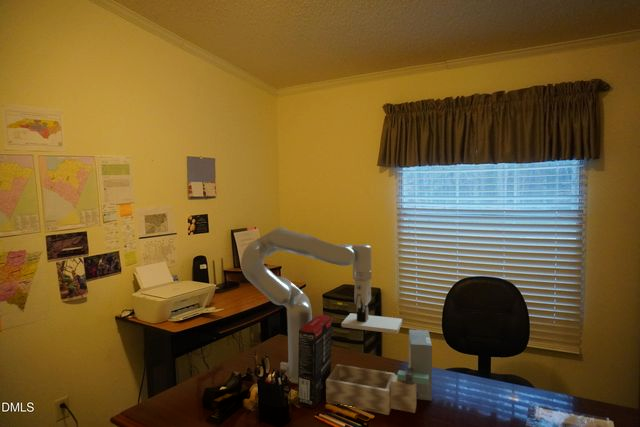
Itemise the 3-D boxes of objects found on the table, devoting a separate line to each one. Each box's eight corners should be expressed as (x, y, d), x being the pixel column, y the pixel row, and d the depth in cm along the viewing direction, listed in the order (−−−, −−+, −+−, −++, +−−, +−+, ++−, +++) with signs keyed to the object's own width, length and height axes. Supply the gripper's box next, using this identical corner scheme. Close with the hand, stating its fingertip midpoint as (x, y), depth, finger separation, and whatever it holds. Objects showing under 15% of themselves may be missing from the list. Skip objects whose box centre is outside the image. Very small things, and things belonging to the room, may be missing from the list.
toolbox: (326, 402, 128) (325, 367, 127) (337, 384, 140) (337, 352, 139) (413, 419, 117) (413, 381, 117) (417, 398, 129) (417, 363, 129)
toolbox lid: (341, 326, 144) (341, 310, 144) (350, 316, 156) (350, 301, 156) (397, 333, 136) (397, 316, 136) (402, 322, 148) (402, 306, 148)
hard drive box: (432, 401, 127) (432, 346, 126) (409, 399, 129) (409, 344, 128) (428, 379, 143) (428, 329, 142) (408, 377, 144) (408, 328, 143)
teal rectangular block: (397, 379, 123) (397, 374, 123) (398, 375, 126) (398, 370, 126) (427, 384, 120) (427, 379, 120) (428, 380, 123) (428, 374, 123)
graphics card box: (315, 382, 141) (315, 313, 140) (332, 385, 139) (332, 315, 138) (297, 406, 125) (296, 329, 124) (316, 410, 123) (315, 331, 122)
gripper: (366, 280, 138) (366, 327, 138) (375, 271, 153) (375, 314, 154) (347, 278, 140) (347, 325, 141) (358, 270, 156) (358, 312, 157)
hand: (362, 319), depth 148 cm, fingers closed on toolbox lid, 3 cm apart
